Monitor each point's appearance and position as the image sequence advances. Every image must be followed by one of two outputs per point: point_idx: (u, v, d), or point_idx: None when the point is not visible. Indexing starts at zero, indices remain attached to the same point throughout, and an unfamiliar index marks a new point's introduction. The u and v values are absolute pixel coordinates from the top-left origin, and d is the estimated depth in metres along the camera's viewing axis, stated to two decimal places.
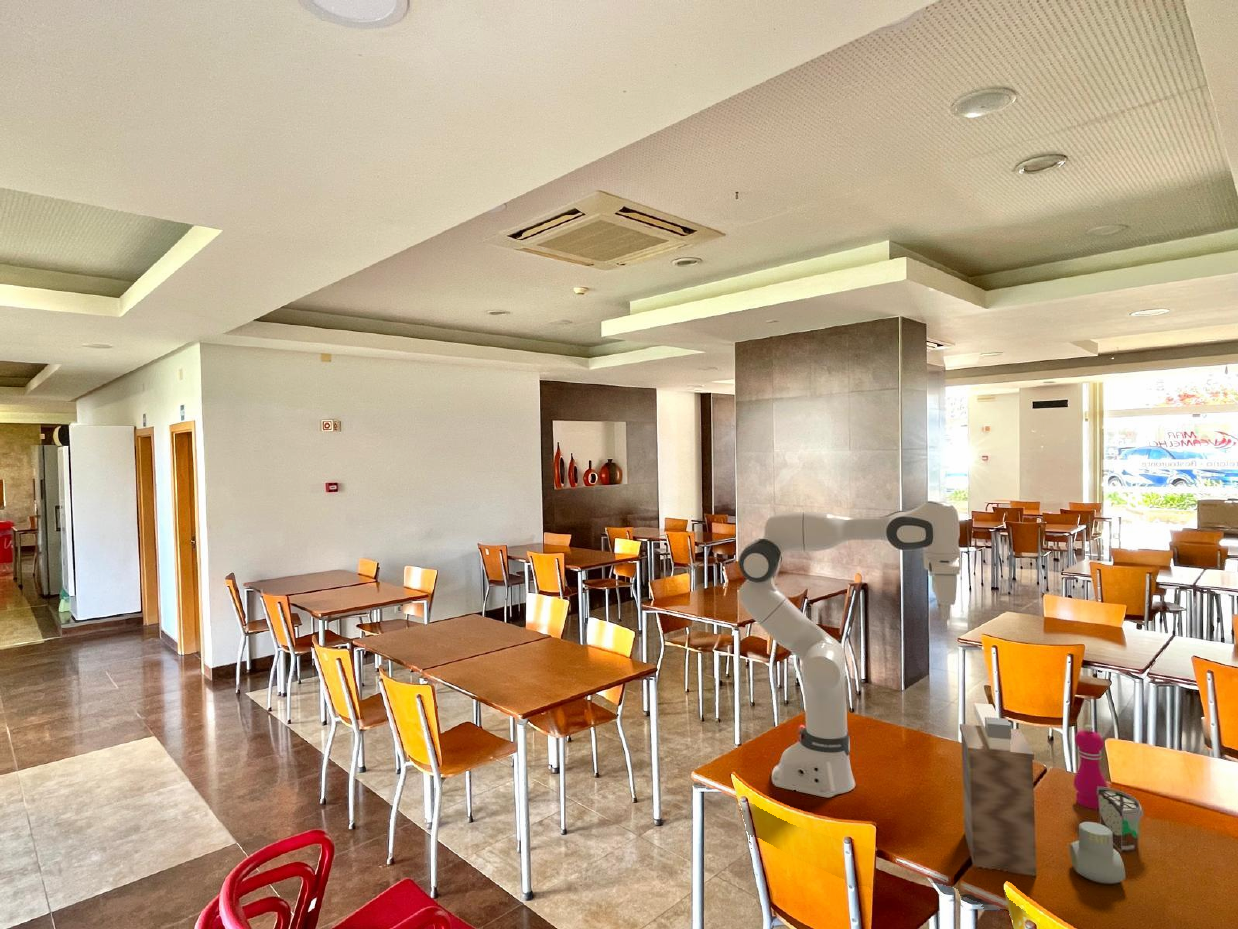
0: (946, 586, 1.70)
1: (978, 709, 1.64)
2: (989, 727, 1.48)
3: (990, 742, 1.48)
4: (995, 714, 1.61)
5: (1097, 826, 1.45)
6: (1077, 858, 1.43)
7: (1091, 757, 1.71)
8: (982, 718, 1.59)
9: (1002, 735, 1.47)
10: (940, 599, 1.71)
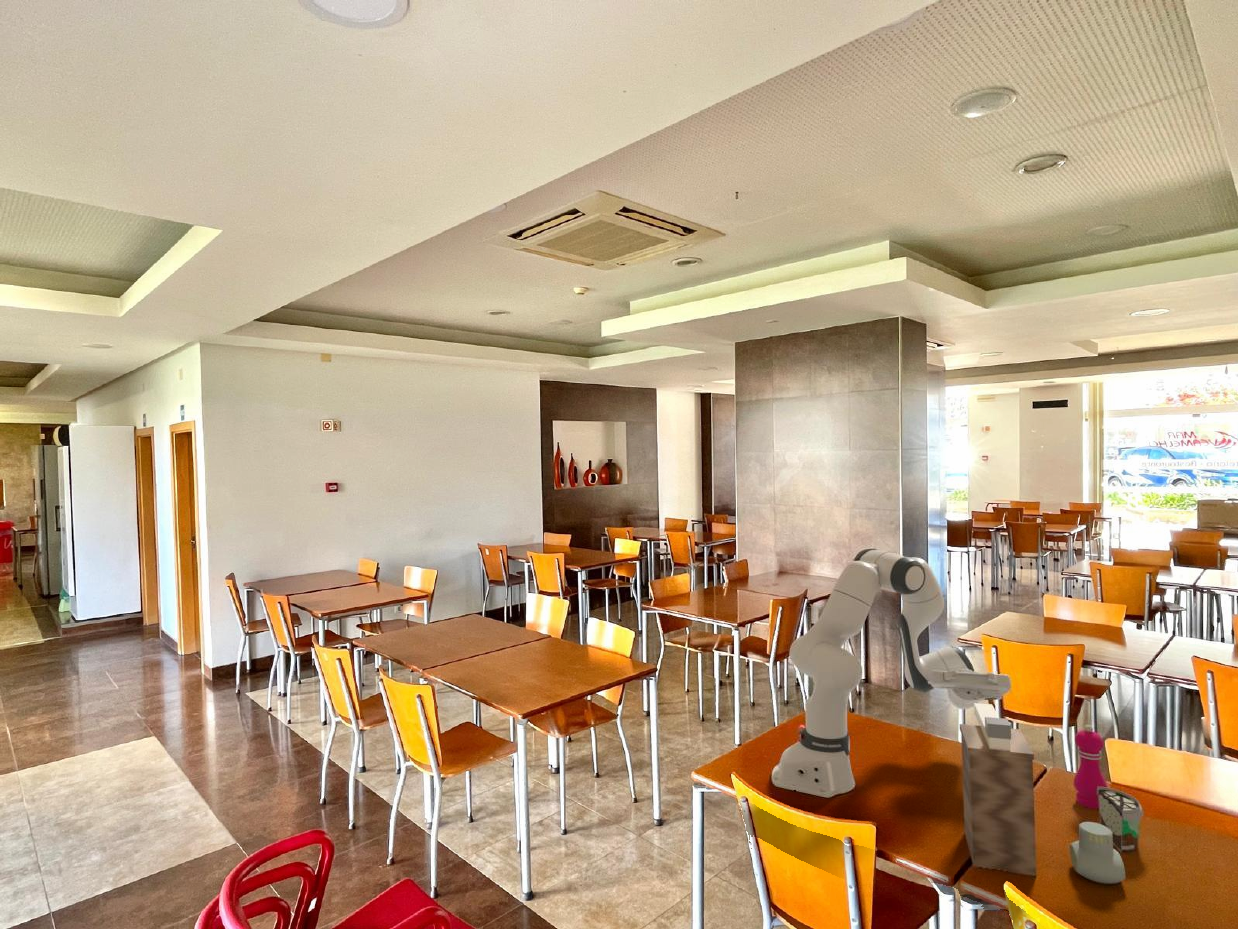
0: None
1: (978, 709, 1.64)
2: (989, 727, 1.48)
3: (990, 742, 1.48)
4: (995, 714, 1.61)
5: (1097, 826, 1.45)
6: (1077, 858, 1.43)
7: (1091, 757, 1.71)
8: (982, 718, 1.59)
9: (1002, 735, 1.47)
10: None
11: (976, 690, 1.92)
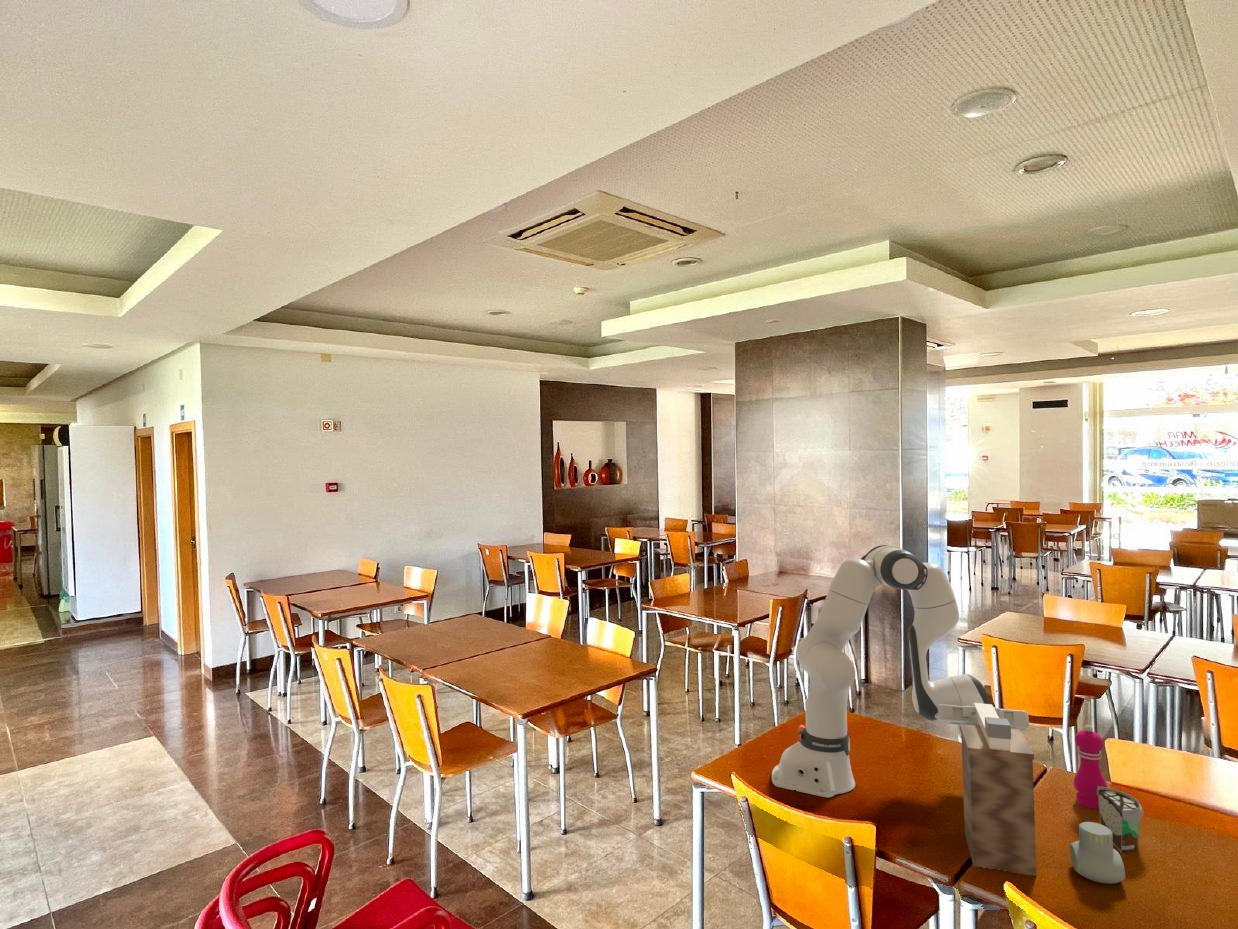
0: None
1: (978, 709, 1.64)
2: (989, 727, 1.48)
3: (990, 742, 1.48)
4: (995, 714, 1.61)
5: (1097, 826, 1.45)
6: (1077, 858, 1.43)
7: (1091, 757, 1.71)
8: (982, 718, 1.59)
9: (1002, 735, 1.47)
10: (1026, 712, 1.67)
11: None
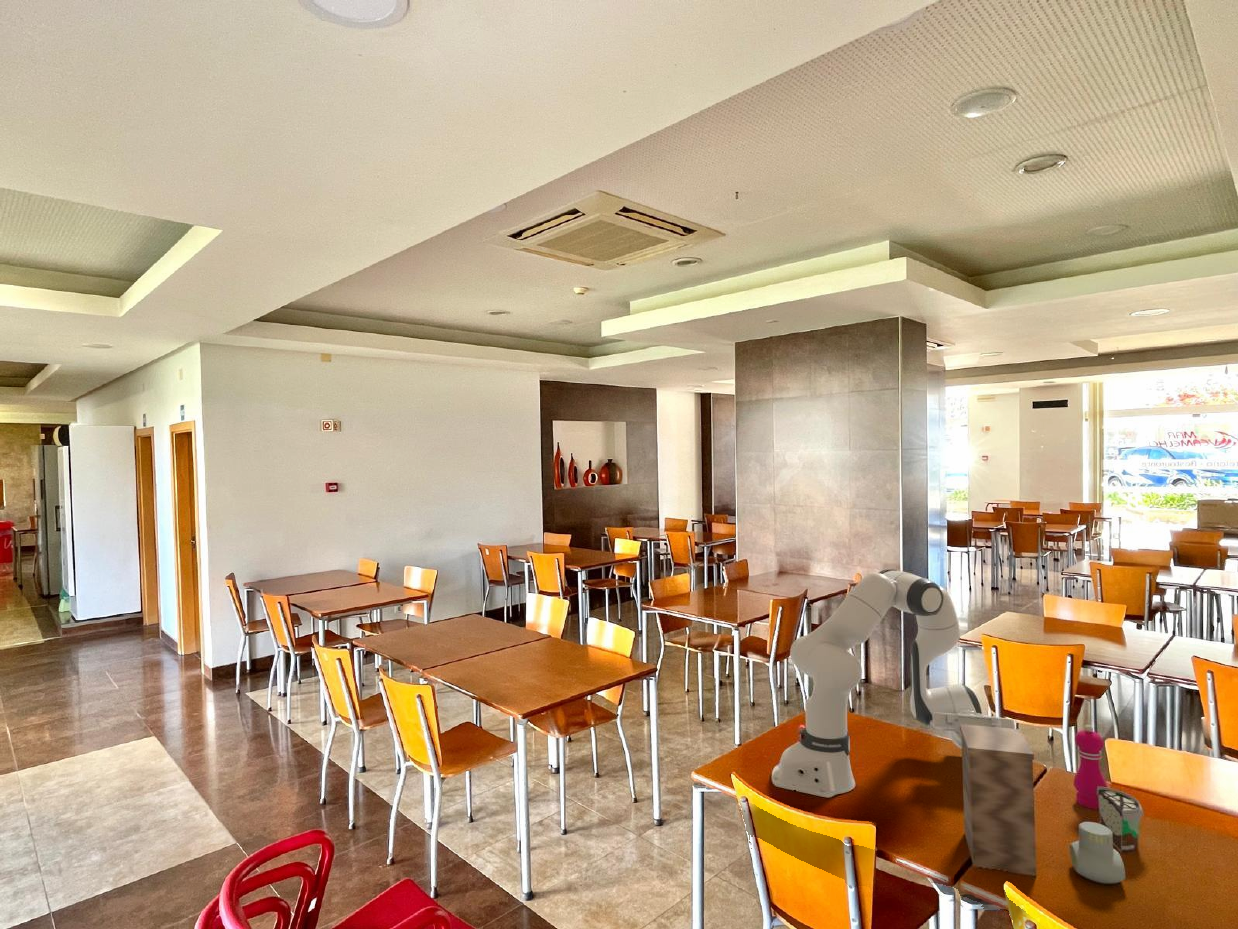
0: None
1: None
2: None
3: None
4: None
5: (1097, 826, 1.45)
6: (1077, 858, 1.43)
7: (1091, 757, 1.71)
8: None
9: None
10: None
11: None
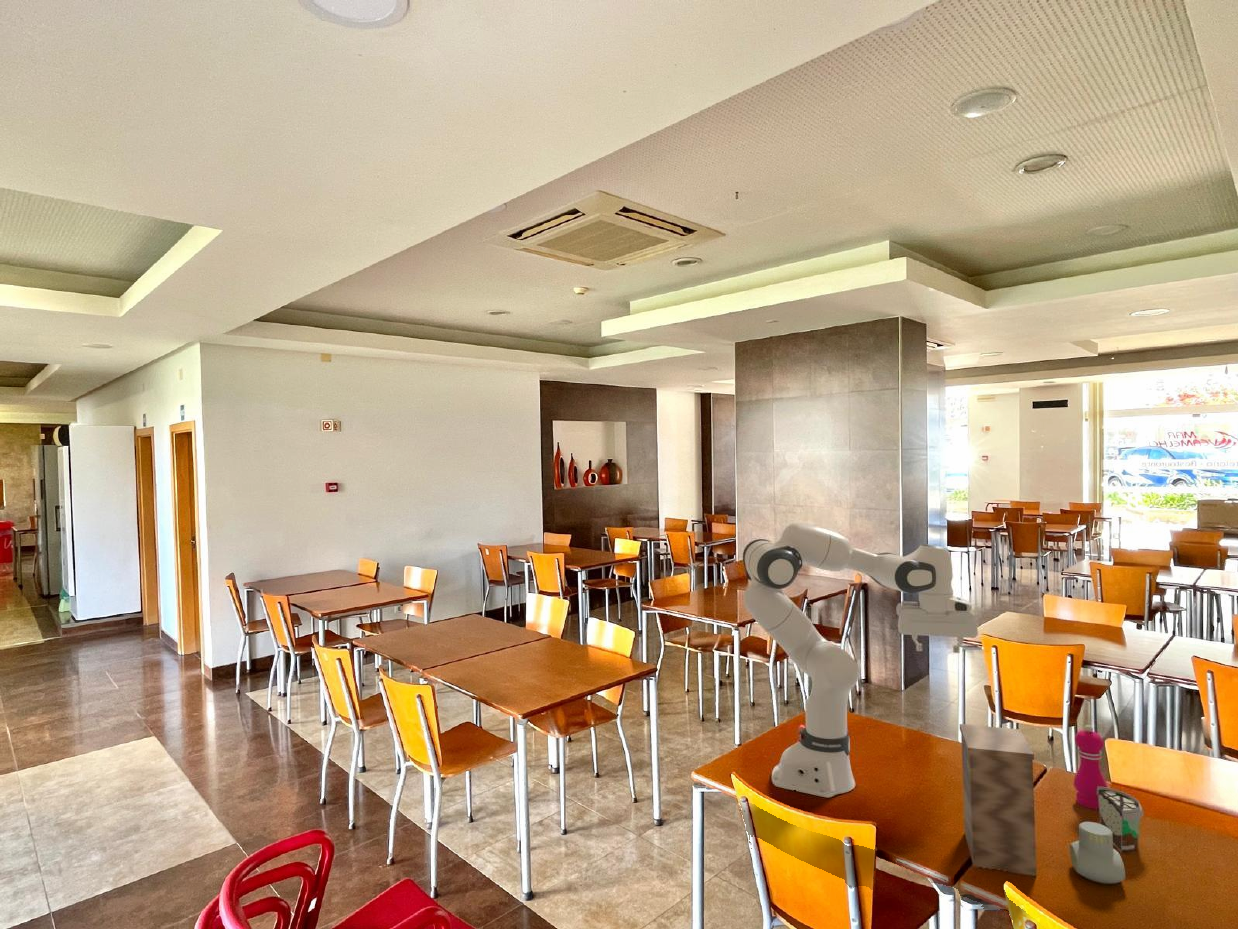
0: None
1: None
2: None
3: None
4: None
5: (1097, 826, 1.45)
6: (1077, 858, 1.43)
7: (1091, 757, 1.71)
8: None
9: None
10: (977, 633, 1.86)
11: None
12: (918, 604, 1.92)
